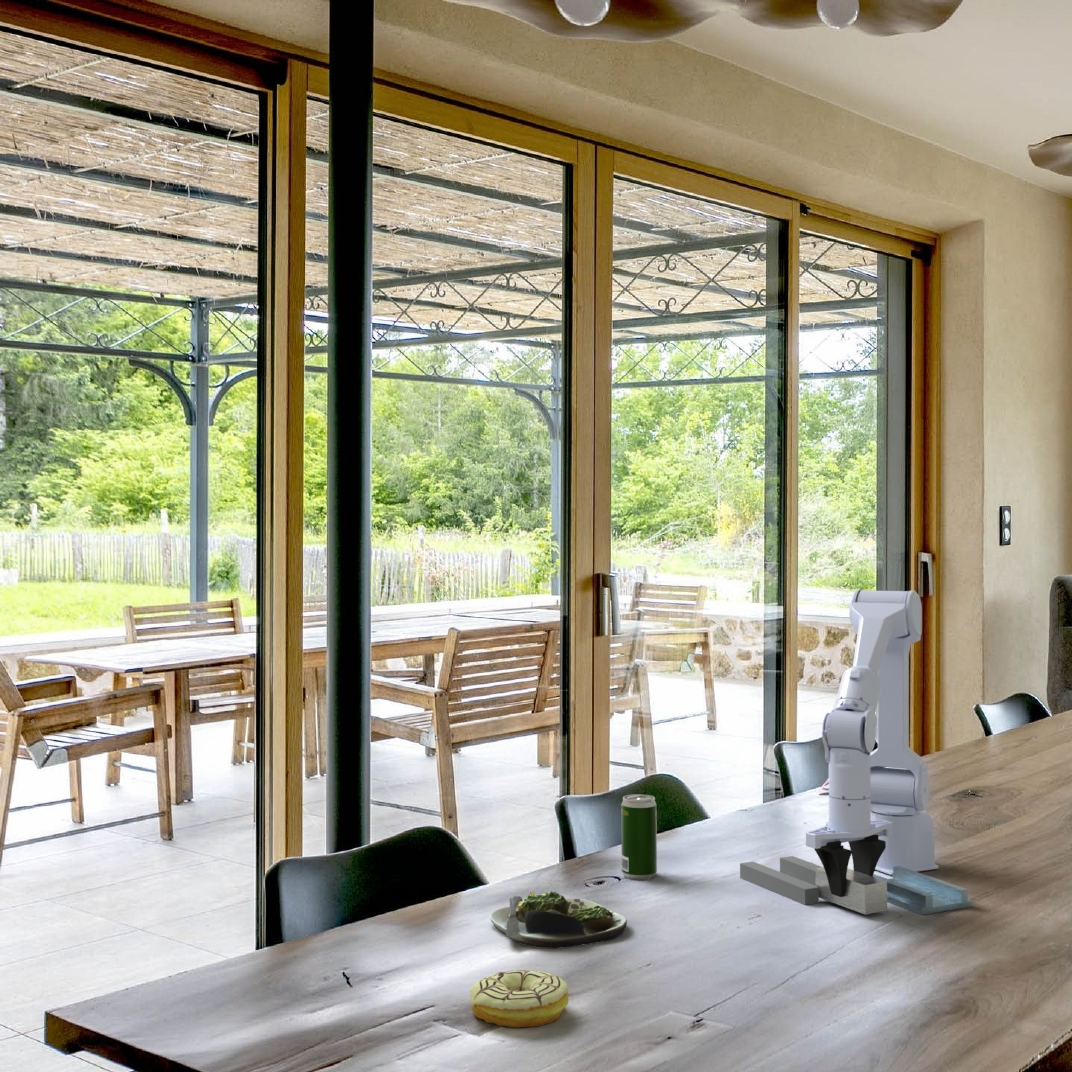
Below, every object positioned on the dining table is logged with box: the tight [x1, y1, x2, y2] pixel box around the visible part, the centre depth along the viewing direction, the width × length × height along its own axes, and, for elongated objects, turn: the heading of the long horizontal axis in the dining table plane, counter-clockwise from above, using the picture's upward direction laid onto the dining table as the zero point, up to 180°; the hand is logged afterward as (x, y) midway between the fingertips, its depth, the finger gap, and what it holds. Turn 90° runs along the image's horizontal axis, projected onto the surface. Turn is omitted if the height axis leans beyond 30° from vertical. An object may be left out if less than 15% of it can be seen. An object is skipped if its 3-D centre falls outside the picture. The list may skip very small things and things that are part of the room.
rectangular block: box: [815, 866, 888, 915], centre depth 179 cm, size 4×10×4 cm, turn 29°
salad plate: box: [489, 890, 628, 949], centre depth 172 cm, size 19×18×5 cm
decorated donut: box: [469, 969, 570, 1029], centre depth 141 cm, size 10×11×4 cm
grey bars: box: [739, 855, 822, 906], centre depth 190 cm, size 10×16×2 cm, turn 25°
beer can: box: [620, 793, 658, 881], centre depth 197 cm, size 5×5×12 cm
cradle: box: [873, 866, 973, 916], centre depth 184 cm, size 9×14×2 cm, turn 25°
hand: (850, 892), depth 180 cm, fingers closed on rectangular block, 4 cm apart
